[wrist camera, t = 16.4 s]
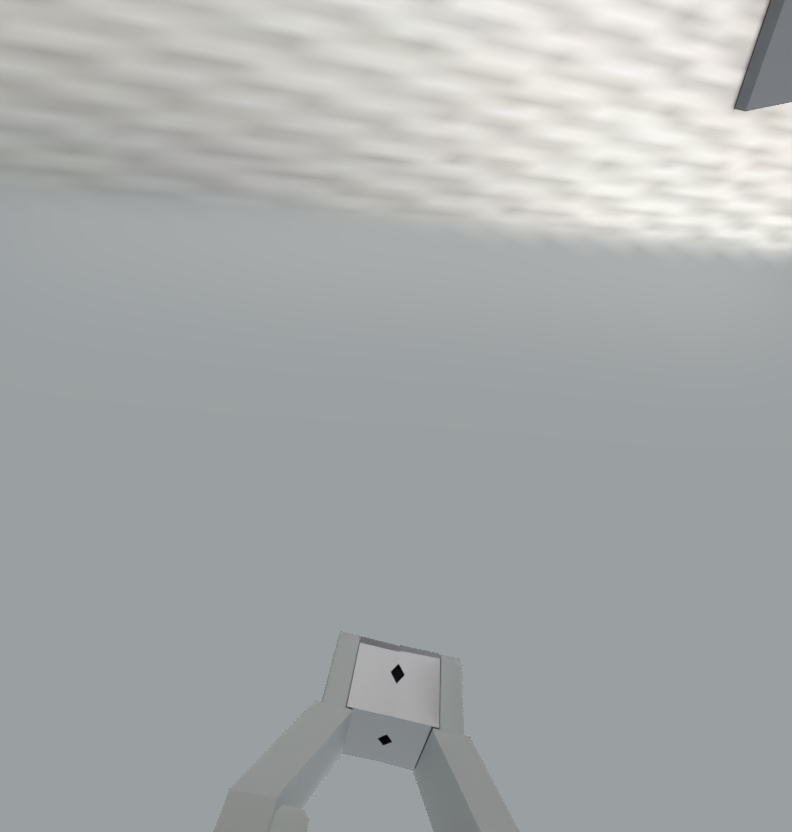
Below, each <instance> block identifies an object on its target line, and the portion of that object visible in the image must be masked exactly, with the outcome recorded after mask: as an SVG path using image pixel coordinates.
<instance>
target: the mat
mask: <svg viewBox="0 0 792 832" xmlns="http://www.w3.org/2000/svg"><path fill="white" fill-rule="evenodd" d="M789 102H792V0H771V2H770V5H769V8H768V11H767V14H766V17H765V20H764V23H763V26H762V29H761V32H760V35H759V38H758V40H757V43H756V46H755V49H754V52H753V55H752V58H751V61H750V64H749V67H748V70H747V73H746V76H745V79H744V82H743V85H742V88H741V91H740V94H739V97H738V100H737V103H736V106H735V109H738V110H743V111H749V110H754V109H759V108H764V107H769V106H774V105H779V104H784V103H789Z"/></svg>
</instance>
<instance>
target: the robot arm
mask: <svg viewBox="0 0 792 832" xmlns="http://www.w3.org/2000/svg"><path fill="white" fill-rule="evenodd" d="M341 754H347V755H352V756H356V757H361V758H366V759H371V760H376V761H380V762H384V763H388V764H391V765H395V766H399V767H403V768H406V769H410V770H413V771H414V775H415V778H416V781H417V784H418V787H419V790H420V793H421V796H422V799H423V801H424V805H425V807H426V811H427V813H428V816H429V819H430V822H431V825H432V828H433V831H434V832H519V829H518V827H517V825H516V824H515V822H514V820H513V818H512V816H511V814H510V812H509V810H508V808H507V806H506V804H505V802H504V801H503V799H502V797H501V795H500V793H499V791H498V789H497V787H496V785H495V784H494V781H493V779H492V777H491V776H490V774H489V772H488V770H487V768H486V766H485V764H484V762H483V760H482V758H481V756H480V754H479V753H478V751H477V749H476V747H475V745H474V743H473V741H472V739H471V737H469V736H466V735H464V718H463V685H462V664H461V661H460V659H459V658H454V657H449V656H445V655H440V654H438V653H434V652H429V651H425V650H420V649H415V648H410V647H405V646H401V645H400V646H398V645H395V644H390V643H386V642H382V641H378V640H374V639H370V638H366V637H362V636H361V638H360V636H359V635H354V634H350V633H346V632H340V635H339V637H338V640H337V644H336V648H335V652H334V656H333V659H332V664H331V667H330V671H329V675H328V679H327V683H326V687H325V691H324V695H323V698H322V701H315V702H313V704H312V705H311V706H310V707H309V708H308V709H307V710H306V711H305V712H304V713H303V714H302V715H301V716H300V717H299V718H298V719H297V720H296V721H295V722H294V723H293V724H292V725H291V726H290V727H289V728H288V729H287V730H286V731H285V732H284V733H283V734H282V735H281V736H280V737H279V738H278V739H277V740H276V742H275V743H274V744H273V745H272V746H271V747H270V748H269V749H268V750H267V751H266V752H265V753H264V754H263V755H262V756H261V757H260V758H259V759H258V760H257V761H256V762H255V763H254V764H253V765H252V766H251V767H250V768H249V770H247V771H246V772H245V774H243V776H242V777H241V778H240V779H239V780H238V781H237V782H236V783H235V784H234V785H233V786H232V787H231V788H230V789H229V792H228V794H227V797H226V800H225V802H224V805H223V808H222V810H221V813H220V816H219V818H218V821H217V823H216V826H215V829H214V831H213V832H307V828H308V823H309V818H308V816H307V815H306V813H305V811H304V809H302V808H303V806H304V805H305V804H306V802H307V801H308V800H309V798H310V797H311V796H312V794H313V793H314V792H315V790H316V789H317V788H318V786H319V785H320V784H321V782H322V781H323V780H324V778H325V777H326V776H327V774H328V773H329V772H330V770H331V769H332V768H333V766H334V765H335V764H336V762H337V761H338V760H339V758H340V757H341Z"/></svg>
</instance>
